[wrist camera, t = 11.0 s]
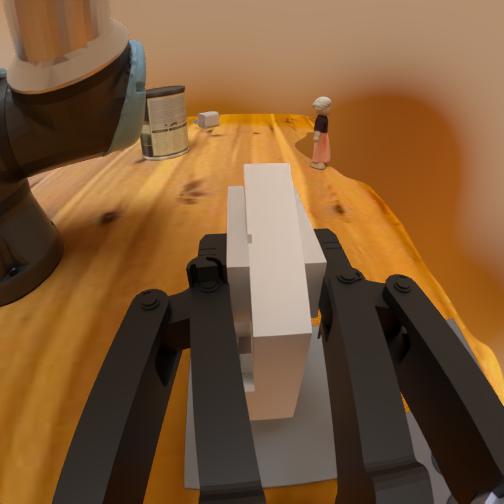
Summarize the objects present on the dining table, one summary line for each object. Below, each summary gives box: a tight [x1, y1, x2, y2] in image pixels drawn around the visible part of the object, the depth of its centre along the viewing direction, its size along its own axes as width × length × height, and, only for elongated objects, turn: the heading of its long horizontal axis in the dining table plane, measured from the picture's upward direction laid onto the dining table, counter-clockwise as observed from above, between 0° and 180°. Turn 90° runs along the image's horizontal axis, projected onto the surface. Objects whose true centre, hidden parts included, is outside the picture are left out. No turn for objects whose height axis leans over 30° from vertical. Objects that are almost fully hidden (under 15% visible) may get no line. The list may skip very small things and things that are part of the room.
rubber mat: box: [184, 325, 337, 490], centre depth 18 cm, size 12×10×1 cm
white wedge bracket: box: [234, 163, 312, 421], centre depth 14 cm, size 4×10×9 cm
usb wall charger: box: [192, 111, 219, 128], centre depth 78 cm, size 4×7×4 cm, turn 129°
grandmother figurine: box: [311, 97, 331, 169], centre depth 50 cm, size 8×4×13 cm, turn 170°
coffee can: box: [140, 86, 189, 160], centre depth 57 cm, size 10×10×14 cm
